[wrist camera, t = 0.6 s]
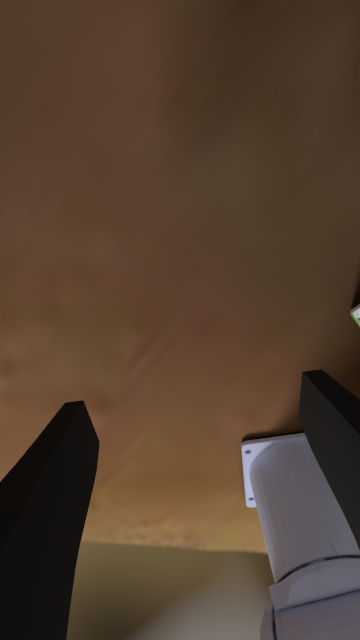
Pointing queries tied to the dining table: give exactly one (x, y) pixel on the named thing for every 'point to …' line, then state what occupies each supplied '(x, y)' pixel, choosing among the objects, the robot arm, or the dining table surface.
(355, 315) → the syrup box
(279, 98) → the dining table surface
